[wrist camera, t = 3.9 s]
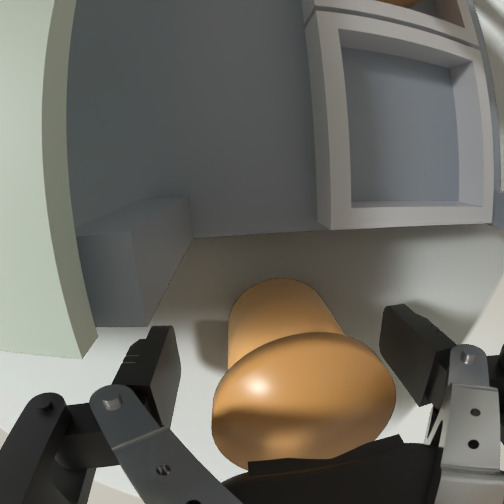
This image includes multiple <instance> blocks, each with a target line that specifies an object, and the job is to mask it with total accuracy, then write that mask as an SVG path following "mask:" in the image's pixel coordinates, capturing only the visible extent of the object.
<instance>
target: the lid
mask: <svg viewBox="0 0 504 504" xmlns="http://www.w3.org/2000/svg"><path fill="white" fill-rule="evenodd" d="M76 1H77V0H0V350H1V351H7V352H15V353H23V354H31V355H40V356H50V357H61V358H74V359H83V357H84V356H85V354H86V353H87V352H88V350H89V349H90V347H91V346H92V344H93V343H94V342H95V340H96V339H97V337H98V335H97V331H96V328H95V324H94V320H93V317H92V313H91V309H90V305H89V301H88V297H87V292H86V288H85V283H84V279H83V274H82V269H81V264H80V259H79V253H78V247H77V241H76V235H75V228H74V221H73V214H72V206H71V197H70V187H69V175H68V161H67V138H66V97H67V75H68V61H69V50H70V41H71V32H72V25H73V18H74V12H75V6H76Z"/></svg>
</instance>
